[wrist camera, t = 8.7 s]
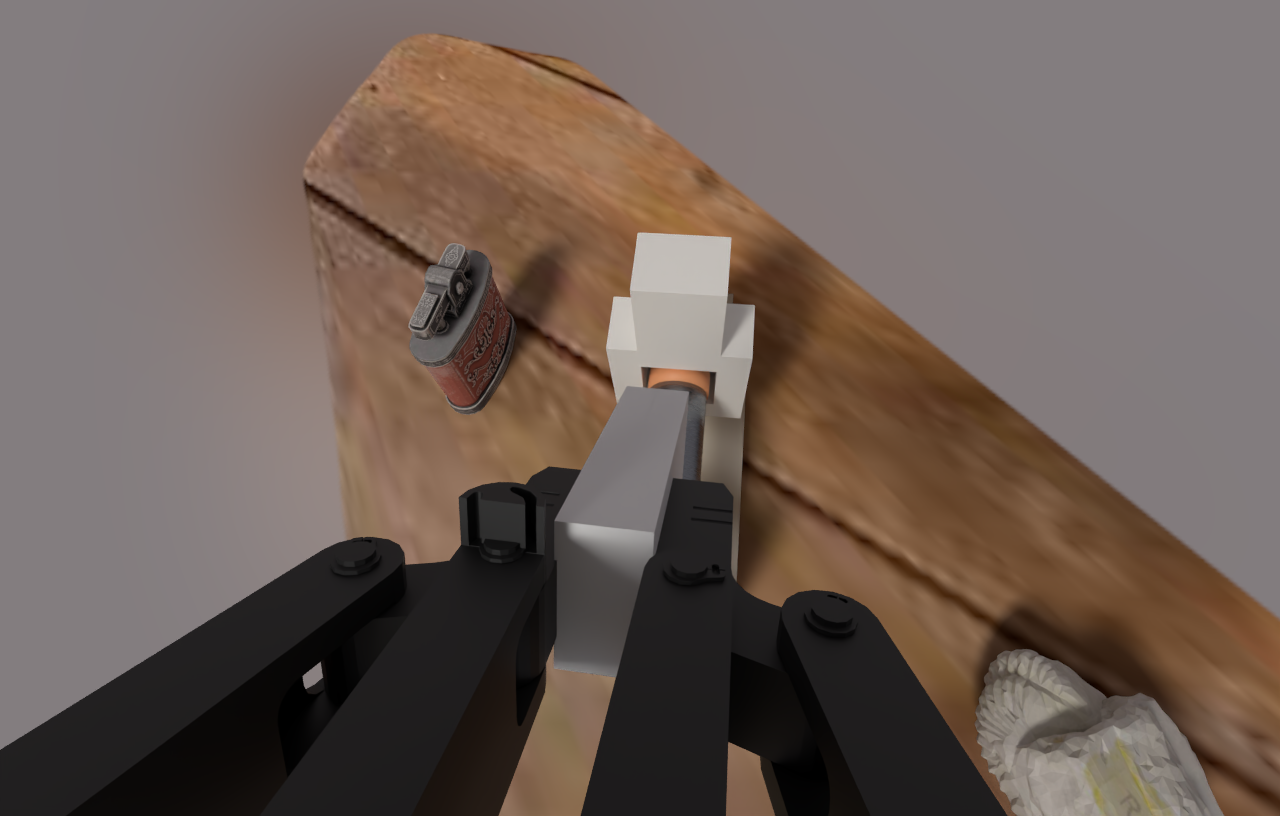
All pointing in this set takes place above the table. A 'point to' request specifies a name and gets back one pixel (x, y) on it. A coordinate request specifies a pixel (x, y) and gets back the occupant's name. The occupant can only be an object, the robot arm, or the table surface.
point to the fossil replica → (1083, 746)
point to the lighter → (463, 329)
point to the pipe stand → (708, 438)
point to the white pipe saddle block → (682, 319)
